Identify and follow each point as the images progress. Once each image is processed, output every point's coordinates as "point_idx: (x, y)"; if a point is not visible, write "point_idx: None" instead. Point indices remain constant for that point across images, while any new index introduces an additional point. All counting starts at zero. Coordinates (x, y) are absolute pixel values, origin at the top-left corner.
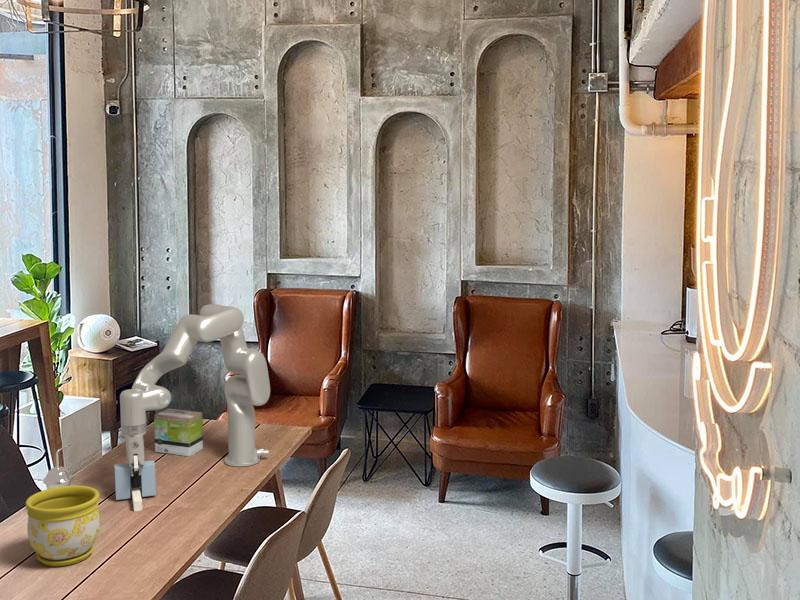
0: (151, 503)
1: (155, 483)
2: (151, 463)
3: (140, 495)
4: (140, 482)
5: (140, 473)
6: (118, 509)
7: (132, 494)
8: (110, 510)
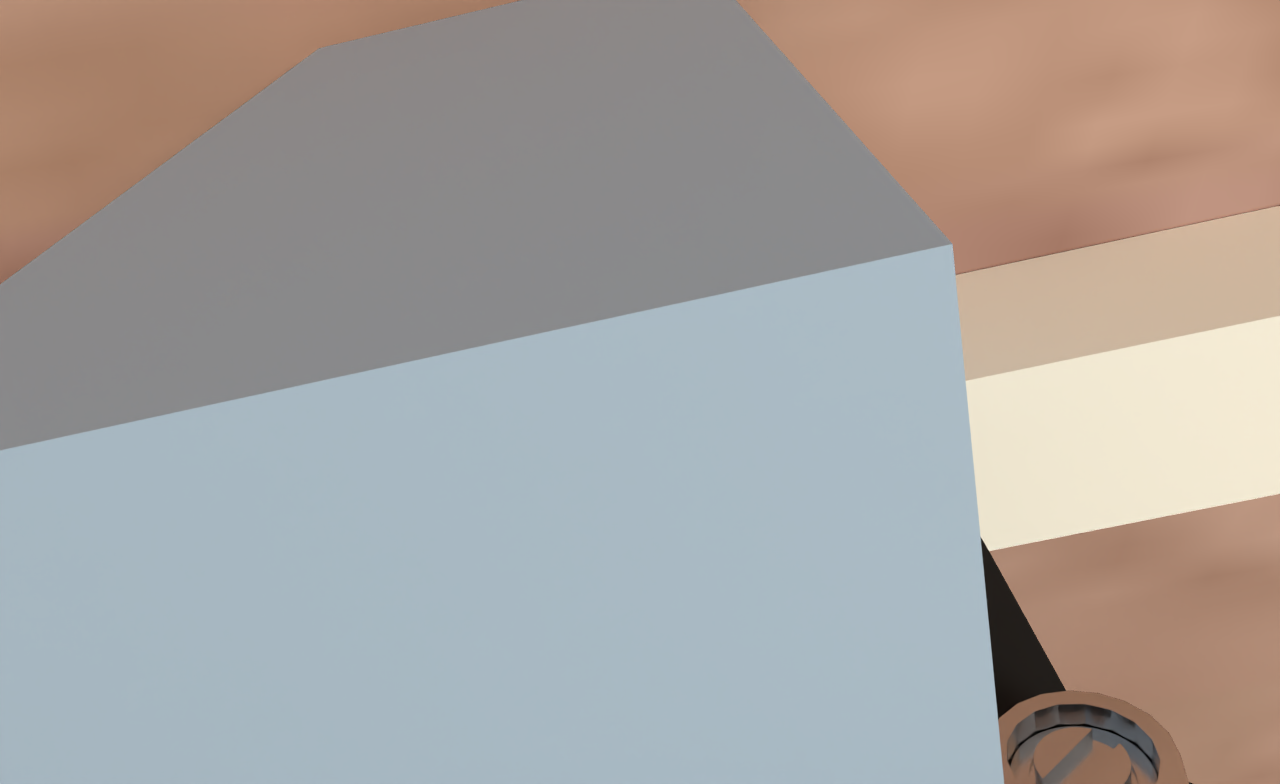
0: (1087, 14)
1: (742, 9)
2: (515, 578)
3: (1214, 339)
4: None
5: (1179, 761)
6: (1214, 609)
7: (1050, 534)
8: (1213, 715)
